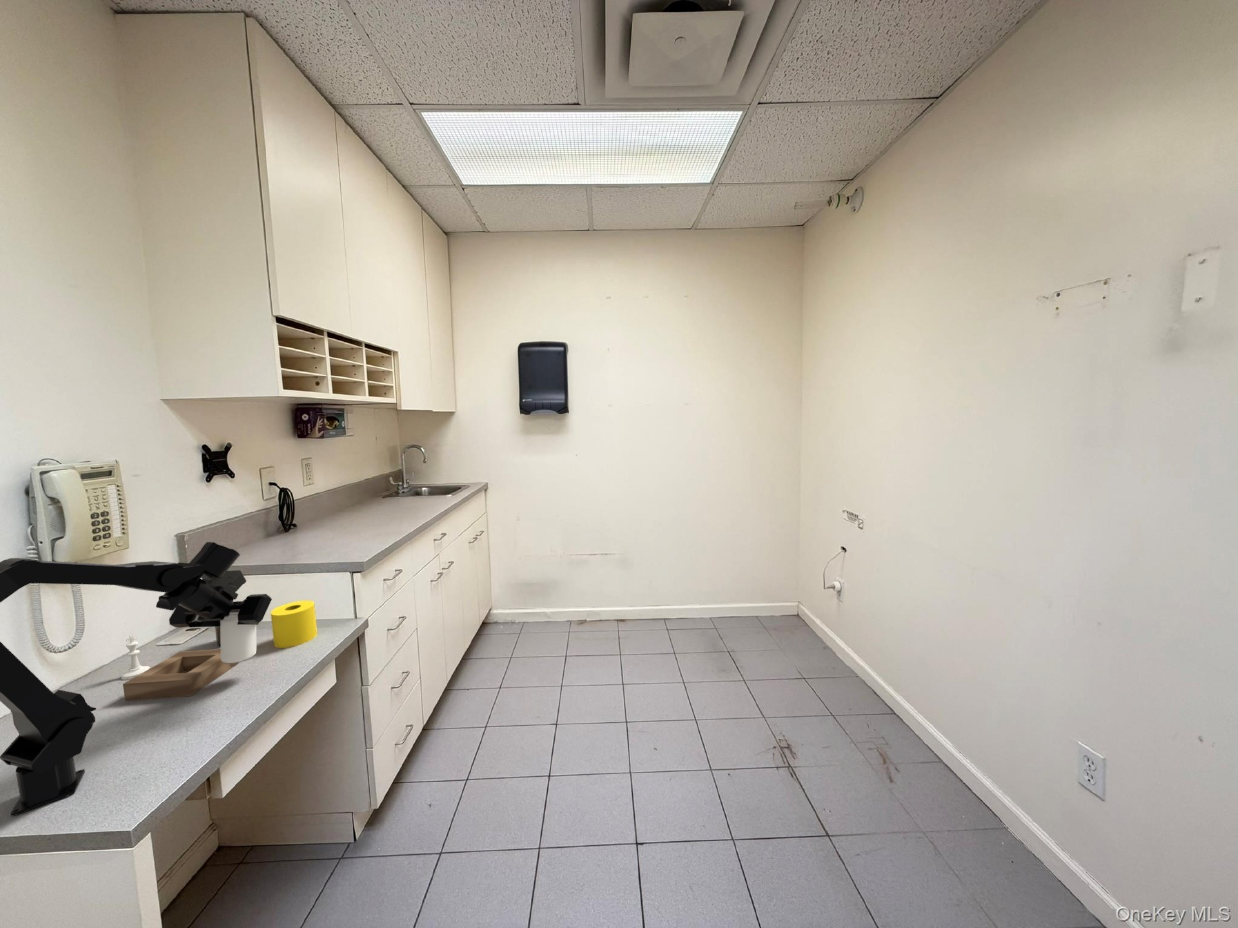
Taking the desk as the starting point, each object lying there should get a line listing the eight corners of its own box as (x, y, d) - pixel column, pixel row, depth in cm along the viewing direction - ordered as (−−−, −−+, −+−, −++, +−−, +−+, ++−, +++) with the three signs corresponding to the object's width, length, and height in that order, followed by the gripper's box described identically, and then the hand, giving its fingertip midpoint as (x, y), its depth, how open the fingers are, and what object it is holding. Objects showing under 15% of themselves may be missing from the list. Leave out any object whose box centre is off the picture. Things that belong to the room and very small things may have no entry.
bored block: (191, 695, 99) (189, 679, 98) (125, 700, 98) (122, 683, 97) (239, 662, 113) (238, 647, 112) (182, 666, 111) (180, 651, 111)
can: (236, 666, 101) (235, 616, 100) (213, 662, 102) (212, 613, 101) (263, 652, 107) (262, 605, 106) (241, 648, 108) (240, 602, 107)
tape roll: (283, 651, 118) (279, 618, 117) (267, 642, 123) (264, 610, 122) (323, 635, 126) (320, 604, 125) (307, 627, 131) (304, 598, 131)
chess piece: (118, 676, 107) (112, 638, 106) (146, 666, 112) (141, 629, 111) (125, 681, 105) (119, 642, 104) (153, 671, 109) (148, 633, 108)
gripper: (262, 561, 100) (297, 590, 111) (175, 565, 98) (220, 594, 110) (238, 608, 92) (279, 633, 104) (144, 613, 91) (196, 638, 103)
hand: (244, 623), depth 105 cm, fingers closed on can, 6 cm apart
